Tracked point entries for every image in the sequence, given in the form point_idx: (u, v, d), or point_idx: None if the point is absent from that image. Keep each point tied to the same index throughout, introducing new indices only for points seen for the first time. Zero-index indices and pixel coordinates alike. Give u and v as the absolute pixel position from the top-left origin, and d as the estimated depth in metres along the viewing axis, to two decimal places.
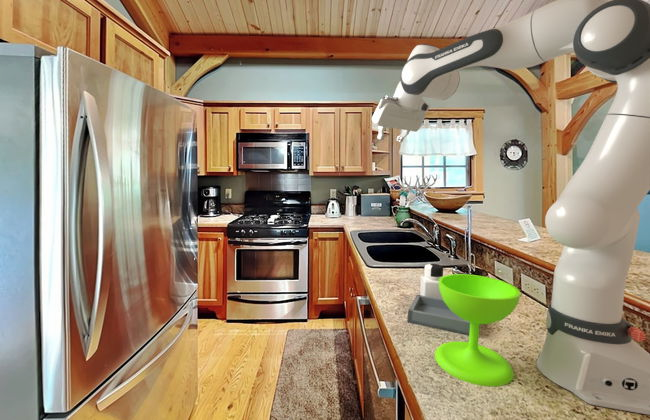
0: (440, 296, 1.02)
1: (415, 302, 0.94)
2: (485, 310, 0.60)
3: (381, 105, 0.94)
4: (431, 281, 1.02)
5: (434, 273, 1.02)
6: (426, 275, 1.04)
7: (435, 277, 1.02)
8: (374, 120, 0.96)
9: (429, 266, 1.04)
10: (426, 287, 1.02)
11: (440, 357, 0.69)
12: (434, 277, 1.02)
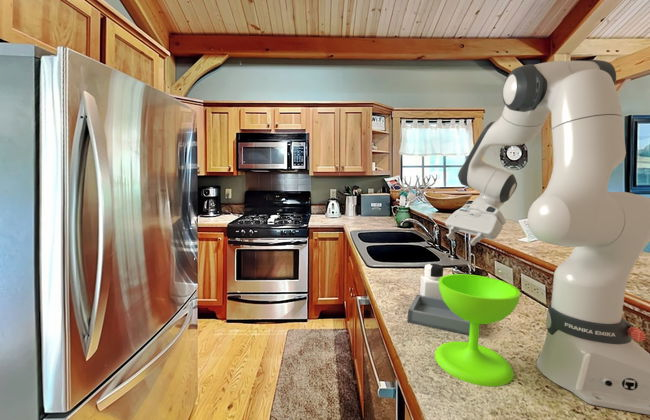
0: (440, 296, 1.02)
1: (415, 302, 0.94)
2: (485, 310, 0.60)
3: None
4: (431, 281, 1.02)
5: (434, 273, 1.02)
6: (426, 275, 1.04)
7: (435, 277, 1.02)
8: None
9: (429, 266, 1.04)
10: (426, 287, 1.02)
11: (440, 357, 0.69)
12: (434, 277, 1.02)
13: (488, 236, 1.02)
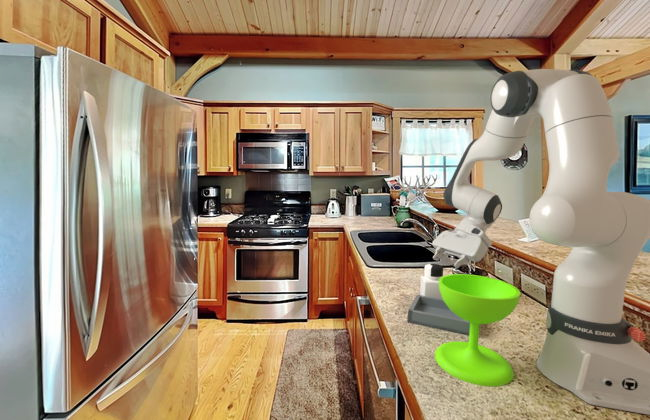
0: (440, 296, 1.02)
1: (415, 302, 0.94)
2: (485, 310, 0.60)
3: None
4: (431, 281, 1.02)
5: (434, 273, 1.02)
6: (426, 275, 1.04)
7: (435, 277, 1.02)
8: None
9: (429, 266, 1.04)
10: (426, 287, 1.02)
11: (440, 357, 0.69)
12: (434, 277, 1.02)
13: (472, 258, 0.99)
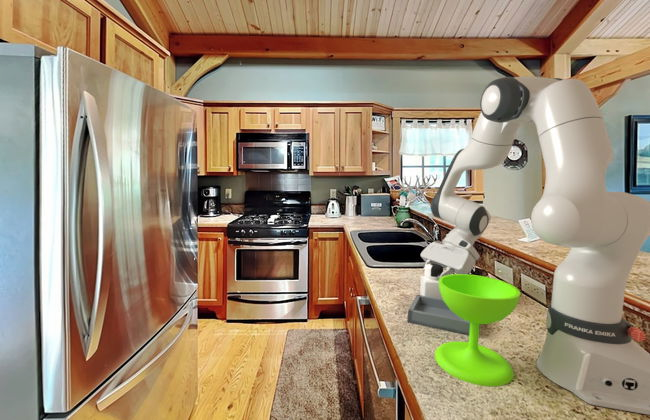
0: (440, 296, 1.02)
1: (415, 302, 0.94)
2: (485, 310, 0.60)
3: None
4: (431, 281, 1.02)
5: (434, 272, 1.02)
6: (426, 275, 1.04)
7: (435, 277, 1.02)
8: None
9: (429, 266, 1.04)
10: (426, 287, 1.02)
11: (440, 357, 0.69)
12: (434, 277, 1.02)
13: (459, 272, 0.97)
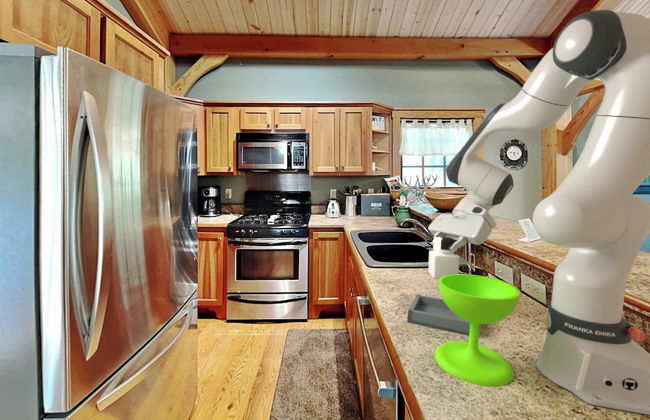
0: (452, 272, 0.90)
1: (415, 302, 0.94)
2: (485, 310, 0.60)
3: None
4: (441, 255, 0.90)
5: (445, 245, 0.90)
6: (435, 249, 0.92)
7: (446, 250, 0.90)
8: None
9: (439, 238, 0.92)
10: (436, 262, 0.90)
11: (440, 357, 0.69)
12: (445, 250, 0.90)
13: (474, 240, 0.86)
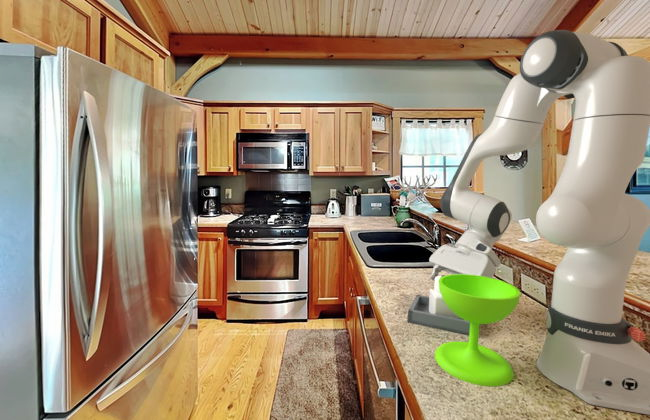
0: (453, 314, 0.86)
1: (415, 302, 0.94)
2: (485, 310, 0.60)
3: None
4: None
5: None
6: (437, 289, 0.88)
7: None
8: None
9: None
10: (437, 304, 0.86)
11: (440, 357, 0.69)
12: None
13: None
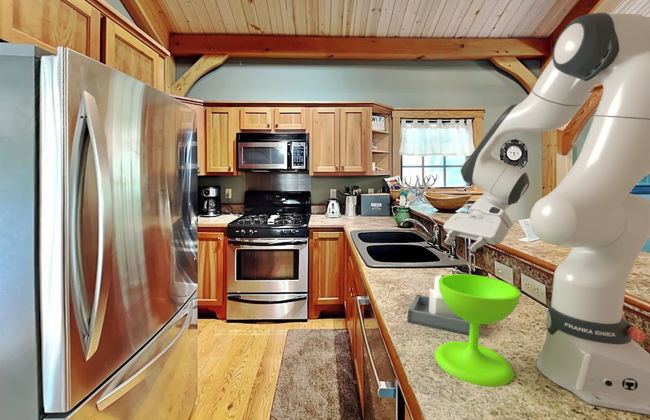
0: (453, 314, 0.86)
1: (415, 302, 0.94)
2: (485, 310, 0.60)
3: None
4: None
5: None
6: (437, 289, 0.88)
7: None
8: None
9: None
10: (437, 304, 0.86)
11: (440, 357, 0.69)
12: None
13: (491, 240, 0.87)
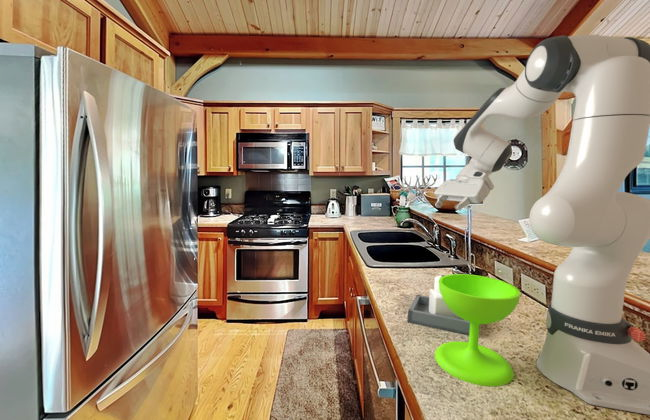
0: (453, 314, 0.86)
1: (415, 302, 0.94)
2: (485, 310, 0.60)
3: None
4: None
5: None
6: (437, 289, 0.88)
7: None
8: None
9: None
10: (437, 304, 0.86)
11: (440, 357, 0.69)
12: None
13: (474, 199, 0.99)
